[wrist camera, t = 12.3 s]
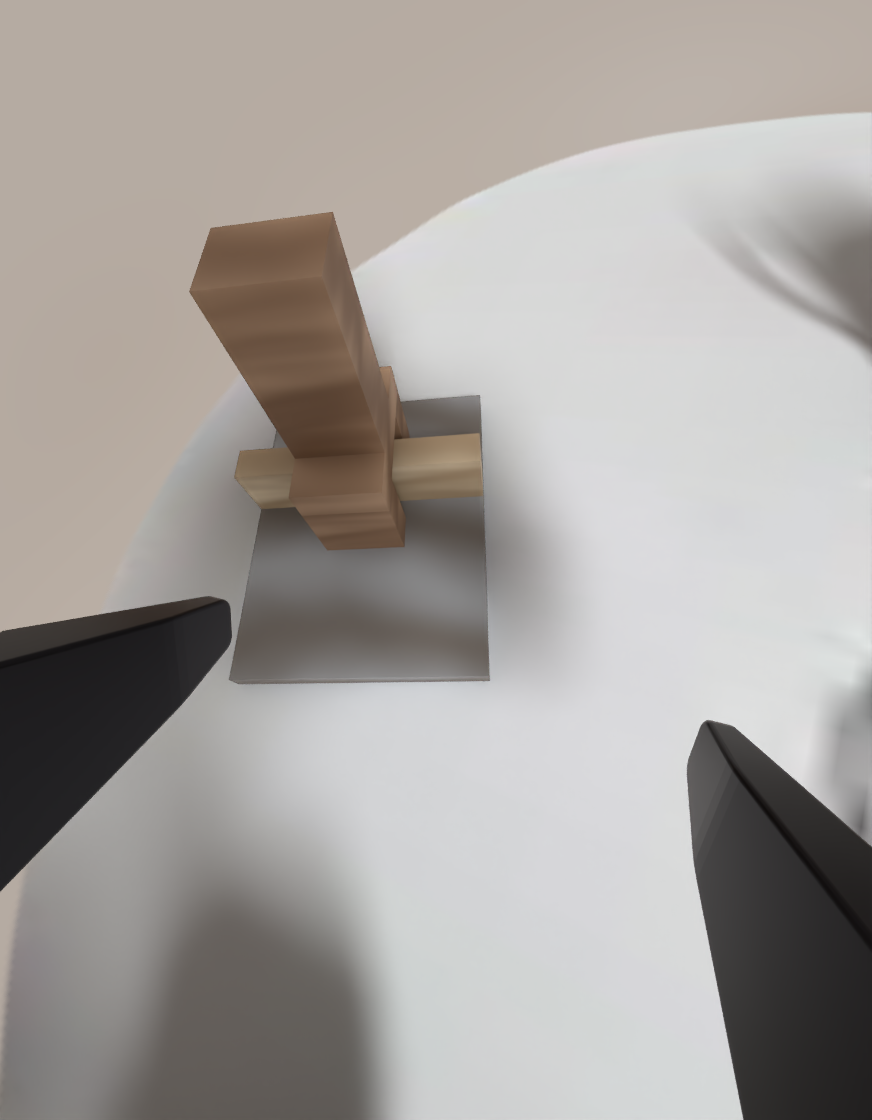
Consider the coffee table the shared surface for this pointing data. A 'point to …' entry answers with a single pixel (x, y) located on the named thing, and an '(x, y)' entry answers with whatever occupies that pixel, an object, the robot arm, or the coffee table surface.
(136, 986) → the coffee table surface
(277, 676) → the cross plate base
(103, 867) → the coffee table surface
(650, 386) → the coffee table surface
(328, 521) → the wooden block
